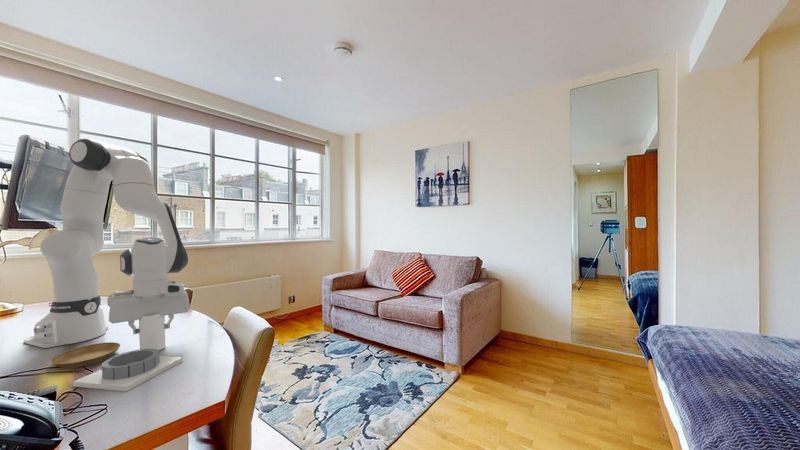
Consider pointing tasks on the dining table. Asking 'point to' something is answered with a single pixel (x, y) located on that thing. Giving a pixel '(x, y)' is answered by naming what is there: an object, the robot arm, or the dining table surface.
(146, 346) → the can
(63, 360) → the plant saucer
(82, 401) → the dining table surface
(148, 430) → the dining table surface
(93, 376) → the housing base
